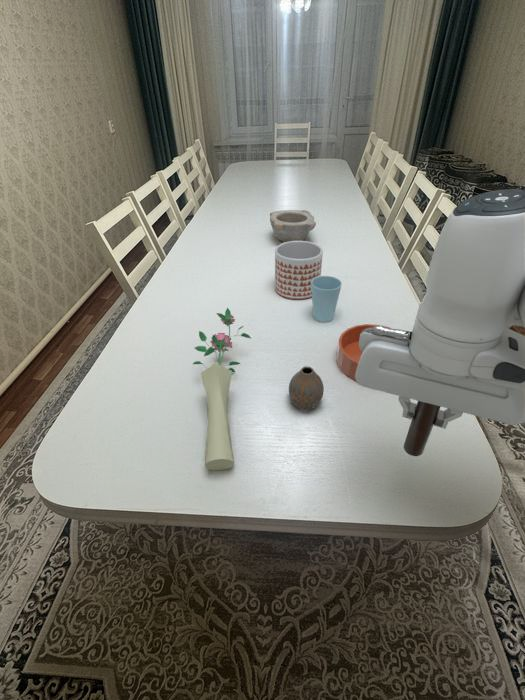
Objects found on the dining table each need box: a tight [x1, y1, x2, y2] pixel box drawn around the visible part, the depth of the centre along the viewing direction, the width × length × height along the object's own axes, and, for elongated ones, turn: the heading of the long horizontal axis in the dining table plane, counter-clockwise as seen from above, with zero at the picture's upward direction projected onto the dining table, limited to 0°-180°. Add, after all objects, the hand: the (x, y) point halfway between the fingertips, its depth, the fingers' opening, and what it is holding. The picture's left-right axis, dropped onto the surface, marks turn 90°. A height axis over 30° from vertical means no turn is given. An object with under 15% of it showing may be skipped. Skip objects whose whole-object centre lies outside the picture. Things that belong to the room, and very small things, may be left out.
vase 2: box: [274, 240, 324, 300], centre depth 106 cm, size 14×14×13 cm
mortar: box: [269, 209, 317, 243], centre depth 139 cm, size 17×17×9 cm
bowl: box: [336, 323, 393, 382], centre depth 81 cm, size 16×16×5 cm
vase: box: [288, 365, 325, 411], centre depth 71 cm, size 7×7×9 cm
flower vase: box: [192, 307, 252, 471], centre depth 72 cm, size 12×12×35 cm
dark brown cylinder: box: [403, 400, 442, 457], centre depth 50 cm, size 3×3×13 cm
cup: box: [311, 275, 342, 323], centre depth 95 cm, size 8×8×10 cm
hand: (423, 419), depth 50 cm, fingers closed on dark brown cylinder, 3 cm apart
